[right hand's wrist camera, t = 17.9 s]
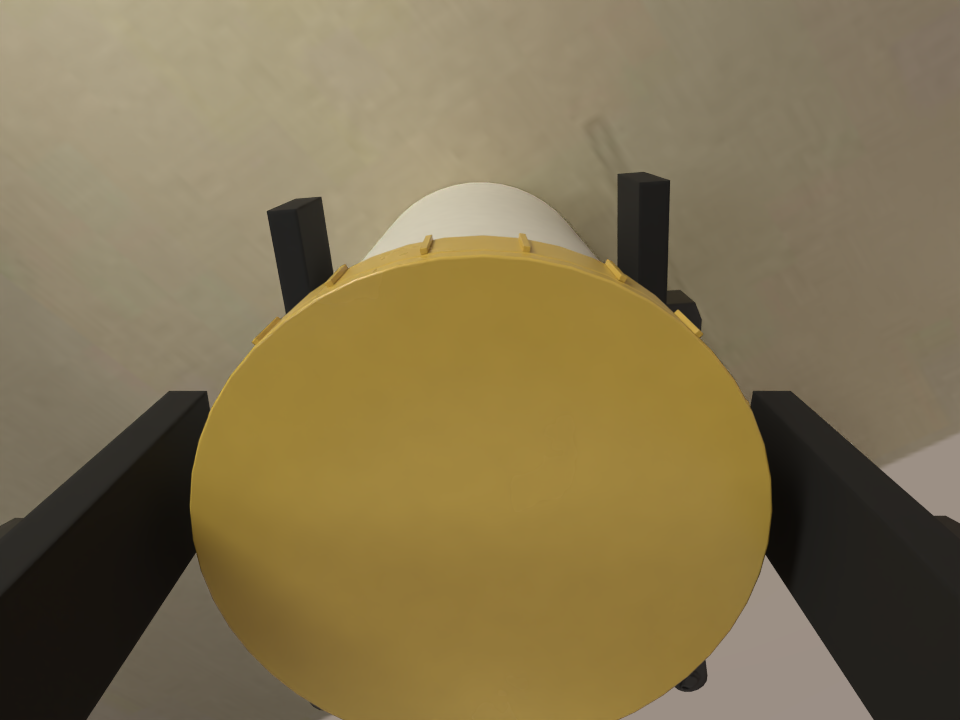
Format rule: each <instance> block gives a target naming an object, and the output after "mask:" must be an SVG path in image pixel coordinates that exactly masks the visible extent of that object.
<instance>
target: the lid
mask: <svg viewBox="0 0 960 720" xmlns="http://www.w3.org/2000/svg"><path fill="white" fill-rule="evenodd" d="M702 335H703V333H702V332H701V331H700V330H699V329H698V328H697V327H696V326H695V325H694V324H693V323H692V322H691V321H690V320H689V319H688V318H687V317H686V316H684V315H683V314H682V313H681V312H680V311H679V310H677V311H676V312H674V313H673V312H672V311H671V310H670V309H669V308H668V307H667V306H666V305H665V304H664V303H663V302H662V301H661V300H660V299H659V298H658V297H657V296H655V295H654V294H653V293H651V292H650V291H648V290H647V289H646V288H644V287H643V286H641V285H640V284H638V283H637V282H636V281H634V280H633V279H631V278H630V277H629V276H627V275H625V274H624V273H623V272H622V271H621V270H620V269H619V268H618V267H617V266H616V265H615V264H614V263H613V262H612V261H610V260H608V259H607V261H606V262H605V264H604V263H602V262H600V261H598V260H596V259H594V258H592V257H589V256H586V255H583V254H580V253H577V252H575V251H572V250H569V249H566V248H563V247H560V246H557V245H552V244H547V243H542V242H538V241H533V240H528V239H527V236H526V234H523V233H519V237H518V238H513V237H499V236H486V235H480V236H463V237H446V238H440V239H435V240H433V236H432V235H427V236H425V239H424V241H423V242H419V243H414V244H409V245H405V246H402V247H399V248H396V249H393V250H390V251H387V252H384V253H381V254H379V255H376V256H373V257H370V258H368V259H366V260H364V261H362V262H360V263H358V264H356V265H354V266H352V267H350V268H348V267H347V266H346V264H344V265H342V266H341V267H340V268H339V269H338V270H337V271H336V272H335V273H334V274H333V275H332V276H331V277H330V278H329V279H328V280H327V281H326V282H325V283H324V284H322V285H321V286H319V287H318V288H316V289H315V290H313V291H312V292H310V293H309V294H308V295H307V296H306V297H305V298H304V299H303V300H302V301H300V302H299V303H298V304H297V305H296V306H295V307H294V308H293V309H292V310H291V311H289V312H288V313H287V314H286V315H285V316H284V317H283V318H282V319H280V318H279V317H276V318H275V319H274V320H273V321H272V322H271V323H270V324H269V325H268V326H267V327H266V328H265V329H264V330H263V331H262V332H261V333H260V334H259V335H258V336H257V337H256V338H255V339H254V340H253V341H252V343H253V344H254V345H255V346H254V347H253V349H252V350H251V351H250V352H249V353H248V355H247V356H246V357H245V358H244V360H243V361H242V362H241V363H240V365H239V366H238V367H237V368H236V369H235V371H234V372H233V373H232V374H231V376H230V377H229V379H228V381H227V382H226V384H225V386H224V387H223V389H222V391H221V392H220V394H219V396H218V398H217V399H216V401H215V403H214V404H213V406H212V408H211V410H210V412H209V415H208V418H207V421H206V423H205V426H204V428H203V431H202V434H201V436H200V439H199V442H198V447H197V451H196V456H195V460H194V465H193V470H192V477H191V494H190V514H191V524H192V534H193V541H194V545H195V549H196V553H197V557H198V561H199V565H200V569H201V572H202V574H203V577H204V579H205V581H206V584H207V586H208V589H209V591H210V593H211V596H212V598H213V600H214V602H215V604H216V605H217V607H218V609H219V610H220V612H221V614H222V615H223V617H224V619H225V621H226V622H227V624H228V626H229V627H230V628H231V630H232V631H233V632H234V634H235V635H236V636H237V637H238V639H239V640H240V641H241V642H242V644H243V645H244V646H245V648H246V649H247V650H248V651H249V652H250V653H251V654H252V655H253V656H254V657H255V658H256V659H257V660H258V661H259V662H260V663H261V664H262V665H263V666H264V667H265V668H266V669H267V670H268V671H269V672H270V673H271V674H272V675H273V676H274V677H276V678H277V679H278V680H280V681H281V682H282V683H283V684H285V685H286V686H287V687H288V688H290V689H291V690H292V691H294V692H295V693H296V694H298V695H299V696H301V697H303V698H304V699H306V700H307V701H309V702H311V703H312V704H314V705H316V706H317V707H319V708H320V709H322V710H324V711H326V712H328V713H330V714H332V715H334V716H336V717H338V718H340V719H343V720H619V719H621V718H623V717H626V716H628V715H630V714H632V713H634V712H636V711H638V710H639V709H641V708H643V707H644V706H646V705H648V704H649V703H651V702H653V701H654V700H656V699H658V698H660V697H661V696H663V695H664V694H665V693H667V692H668V691H669V690H671V689H672V688H673V687H675V686H676V685H677V684H679V683H680V682H681V681H682V680H684V679H685V678H686V677H688V676H689V675H690V674H691V673H692V672H693V671H694V670H695V669H696V668H697V667H698V666H699V665H700V664H701V663H702V662H703V661H704V660H705V659H706V658H707V657H708V656H710V655H711V653H712V652H713V651H714V650H715V648H716V647H717V646H718V645H719V644H720V642H721V641H722V640H723V639H724V637H725V636H726V635H727V634H728V632H729V631H730V630H731V628H732V627H733V625H734V624H735V622H736V620H737V619H738V617H739V615H740V614H741V612H742V610H743V609H744V607H745V606H746V604H747V602H748V600H749V598H750V595H751V593H752V591H753V588H754V586H755V584H756V582H757V579H758V577H759V575H760V572H761V568H762V564H763V561H764V557H765V554H766V550H767V546H768V542H769V534H770V525H771V517H772V492H771V475H770V470H769V465H768V460H767V455H766V449H765V444H764V442H763V439H762V436H761V433H760V431H759V428H758V425H757V423H756V420H755V417H754V414H753V412H752V410H751V408H750V404H749V402H748V401H747V400H746V399H745V397H744V395H743V394H742V392H741V390H740V388H739V387H738V385H737V383H736V381H735V379H734V378H733V377H732V376H731V374H730V373H729V372H728V371H727V369H726V368H725V367H724V365H723V364H722V363H721V362H720V360H719V359H718V358H717V356H716V355H715V354H714V353H713V351H712V350H711V349H710V348H709V347H708V346H707V345H706V344H705V343H704V342H703V341H702V340H701V339H700V337H701V336H702Z"/></svg>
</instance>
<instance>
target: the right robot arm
mask: <svg viewBox="0 0 960 720" xmlns="http://www.w3.org/2000/svg"><path fill="white" fill-rule="evenodd" d="M750 408H751V410H752V412H753V414H754V417H755V420H756V423H757V425H758V428H759V431H760V433H761V436H762V439H763V442H764V444H765V449H766V455H767V460H768V465H769V470H770V475H771V492H772V517H771V525H770V534H769V542H768V546H767V550H766V554H765V555H766V556H767V558H768V559H769V561H770V562H771V564H772V565H773V567H774V568H775V570H776V571H777V573H778V574H779V576H780V578H781V579H782V581H783V582H784V584H785V585H786V587H787V588H788V590H789V591H790V593H791V594H792V596H793V597H794V599H795V600H796V602H797V603H798V605H799V606H800V608H801V610H802V611H803V613H804V614H805V616H806V617H807V619H808V620H809V622H810V623H811V625H812V626H813V628H814V629H815V631H816V632H817V634H818V635H819V637H820V638H821V640H822V642H823V643H824V644H825V646H826V648H827V649H828V651H829V652H830V654H831V655H832V657H833V658H834V660H835V661H836V663H837V664H838V666H839V667H840V669H841V671H842V672H843V673H844V675H845V677H846V678H847V680H848V681H849V683H850V684H851V686H852V687H853V689H854V690H855V692H856V693H857V695H858V696H859V698H860V699H861V701H862V702H863V704H864V706H865V707H866V709H867V710H868V712H869V713H870V715H871V716H872V718H873V719H874V720H960V523H958V522H956V521H954V520H952V519H951V518H949V517H947V516H933V515H932V514H931V513H930V512H929V511H927V510H926V509H925V508H924V507H923V506H922V505H920V504H919V503H918V502H917V501H916V500H915V499H914V498H912V497H911V496H910V495H909V494H908V493H907V492H906V491H904V490H903V489H902V488H901V487H900V486H899V485H898V484H896V483H895V482H894V481H893V480H892V479H891V478H890V477H888V476H887V475H886V474H885V473H884V472H883V471H882V470H880V469H879V468H878V467H877V466H876V465H875V464H874V463H872V462H871V461H870V460H869V459H868V458H867V457H866V456H864V455H863V454H862V453H861V452H860V451H859V450H858V449H856V448H855V447H854V446H853V445H852V444H851V443H850V442H848V441H847V440H846V439H845V438H844V437H843V436H842V435H840V434H839V433H838V432H837V431H836V430H835V429H834V428H832V427H831V426H830V425H829V424H828V423H827V422H826V421H824V420H823V419H822V418H821V417H820V416H819V415H818V414H816V413H815V412H814V411H813V410H812V409H811V408H810V407H808V406H807V405H806V404H805V403H804V402H803V401H802V400H800V399H799V398H798V397H797V396H796V395H795V394H794V393H792V392H791V391H753V395H752V401H751V407H750ZM209 412H210V407H209V401H208V395H207V391H169V392H168V393H166V394H165V395H164V396H163V397H162V398H161V399H160V400H158V401H157V402H156V403H155V404H154V405H153V406H152V407H150V408H149V409H148V410H147V411H146V412H145V413H144V414H142V415H141V416H140V417H139V418H138V419H137V420H136V421H134V422H133V423H132V424H131V425H130V426H129V427H128V428H126V429H125V430H124V431H123V432H122V433H121V434H120V435H118V436H117V437H116V438H115V439H114V440H113V441H112V442H110V443H109V444H108V445H107V446H106V447H105V448H104V449H102V450H101V451H100V452H99V453H98V454H97V455H96V456H94V457H93V458H92V459H91V460H90V461H89V462H88V463H86V464H85V465H84V466H83V467H82V468H81V469H80V470H78V471H77V472H76V473H75V474H74V475H73V476H72V477H70V478H69V479H68V480H67V481H66V482H65V483H64V484H62V485H61V486H60V487H59V488H58V489H57V490H55V491H54V492H53V493H52V494H51V495H50V496H49V497H47V498H46V499H45V500H44V501H43V502H42V503H41V504H39V505H38V506H37V507H36V508H35V509H34V510H33V511H31V512H30V513H29V514H28V515H27V516H26V517H25V518H14V519H12V520H10V521H9V522H7V523H5V524H3V525H1V526H0V720H86V719H87V718H88V716H89V715H90V713H91V712H92V710H93V709H94V707H95V706H96V704H97V703H98V701H99V699H100V698H101V696H102V695H103V693H104V692H105V690H106V689H107V687H108V686H109V684H110V683H111V681H112V680H113V678H114V677H115V675H116V674H117V672H118V671H119V669H120V667H121V666H122V664H123V663H124V661H125V660H126V658H127V657H128V655H129V654H130V652H131V651H132V649H133V648H134V646H135V645H136V643H137V642H138V640H139V638H140V637H141V635H142V634H143V632H144V631H145V629H146V628H147V626H148V625H149V623H150V622H151V620H152V619H153V617H154V616H155V614H156V613H157V611H158V610H159V608H160V606H161V605H162V603H163V602H164V600H165V599H166V597H167V596H168V594H169V593H170V591H171V590H172V588H173V587H174V585H175V584H176V582H177V581H178V579H179V578H180V576H181V574H182V573H183V571H184V570H185V568H186V567H187V565H188V564H189V562H190V561H191V559H192V558H193V556H194V555H195V553H196V549H195V545H194V541H193V534H192V524H191V514H190V494H191V477H192V470H193V465H194V460H195V456H196V451H197V447H198V442H199V439H200V436H201V434H202V431H203V428H204V426H205V423H206V421H207V418H208V415H209Z"/></svg>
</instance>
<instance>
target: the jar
mask: <svg viewBox="0 0 960 720" xmlns="http://www.w3.org/2000/svg"><path fill="white" fill-rule="evenodd" d="M519 233H523V234H526V236H527V239H528V240H533V241H538V242H542V243H547V244H552V245H557V246H560V247H563V248H566V249H569V250H572V251H575V252H577V253H580V254H583V255H586V256H589V257H592V258H594V259H596V260H598V258H597V257H596V256H595V255H594V254H593V253H592V251H591V250H590V249H589V248H588V247H587V245H586V244H585V243H584V242H583V241H582V240H581V238H580V237H579V236H578V235H577V234H576V232H575V231H574V230H573V229H572V228H571V226H570V225H569V224H568V223H567V222H566V221H565V220H564V219H563V218H562V217H561V216H560V215H559V214H558V212H557V211H556V210H554V209H553V208H552V207H550V206H549V205H548V204H547V203H545V202H544V201H542V200H541V199H539V198H537V197H535V196H534V195H532V194H530V193H528V192H525V191H523V190H520V189H518V188H515V187H511V186H507V185H503V184H497V183H488V182H473V183H464V184H458V185H453V186H450V187H447V188H443V189H440V190H438V191H436V192H433V193H431V194H429V195H427V196H425V197H424V198H422V199H420V200H419V201H417V202H416V203H414V204H413V205H412V206H410V207H409V208H408V209H407V210H406V211H404V212H403V213H402V214H401V215H400V216H399V217H398V219H397V220H396V221H395V222H394V223H393V224H392V225H391V226H390V228H389V229H388V230H387V231H386V232H385V234H384V235H383V236H382V237H381V238H380V240H379V241H378V242H377V243H376V244H375V246H374V247H373V248H372V249H371V250H370V252H369V253H368V254H367V255H366V256H365V258H364V259H363V260H362V261H364V260H366V259H368V258H370V257H373V256H376V255H379V254H381V253H384V252H387V251H390V250H393V249H396V248H399V247H402V246H405V245H409V244H414V243H419V242H423V241H424V239H425V236H427V235H432V236H433V240H435V239H440V238H446V237H463V236H480V235H486V236H499V237H513V238H518V237H519ZM362 261H361V262H362ZM598 261H599V260H598Z"/></svg>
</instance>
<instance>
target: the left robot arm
mask: <svg viewBox="0 0 960 720" xmlns="http://www.w3.org/2000/svg"><path fill="white" fill-rule="evenodd" d="M669 200H670V180H667V179H664V178H661V177H658V176H655V175H652V174H649V173H645V172H637V173H624V174H618V268H619V269H620V270H621V271H622V272H623V273H624V274H625V275H627V276H629V277H630V278H631V279H633V280H634V281H636V282H637V283H638V284H640V285H641V286H643V287H644V288H646V289H647V290H648V291H650V292H651V293H653V294H654V295H655V296H657V297H658V298H659V299H660V300H661V301H662V302H663V303H664V304H665V305H666V306H667V307H668V308H669V309H670V310H671V311H672V312H673V313H674V312H676V311H677V310H679V311H680V312H681V313H682V314H683V315H684V316H686V317H687V318H688V319H689V320H690V321H691V322H692V323H693V324H694V325H695V326H696V327H697V328H698V329H699V330H700V331H701V322H702V319H701V317H700V314H699V312H698V309H697V306H696V304H695V302H694V301H693V300H691V299H690V298H689V297H688V296H687V295H685V294H684V293H683V292H682V291H681V290H673V291H667V269H668V235H669ZM267 215H268V220H269V226H270V231H271V236H272V242H273V247H274V252H275V257H276V263H277V268H278V273H279V279H280V284H281V289H282V295H283V300H284V305H285V311H286V314H287V313H288V312H289V311H291V310H292V309H293V308H294V307H295V306H296V305H297V304H298V303H299V302H300V301H302V300H303V299H304V298H305V297H306V296H307V295H308V294H309V293H310V292H312V291H313V290H315V289H316V288H318V287H319V286H321V285H322V284H324V283H325V282H326V281H327V280H328V279H329V278H330V277H331V276H332V275H333V268H332V262H331V255H330V249H329V243H328V236H327V230H326V224H325V217H324V211H323V204H322V198H321V197H312V198H300V199H294V200H292V201H289V202H287V203H285V204H282V205H280V206H278V207H276V208H273V209H271V210H269V211H267ZM280 319H282V318H280ZM700 338H701V337H700ZM706 681H707V669H706V661H705V660H704V661H703V662H702V663H701V664H700V665H699V666H698V667H697V668H696V669H695V670H694V671H693V672H692V673H691V674H690V675H689V676H688V677H686V678H685V679H684V680H682V681H681V682H680V683H679V684H677V685H676V686H675V687H676V688H677V689H678V690H681V691H684V692H692V691H695V690H698V689H699V688H701V687H702V686H703V685H704V684H705V683H706ZM310 703H311V702H310ZM311 704H312V703H311ZM312 706H313V707H315V708H317V709H319V710H322V709H320V708H319V707H317V706H316V705H314V704H312ZM323 711H324V710H323Z"/></svg>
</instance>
